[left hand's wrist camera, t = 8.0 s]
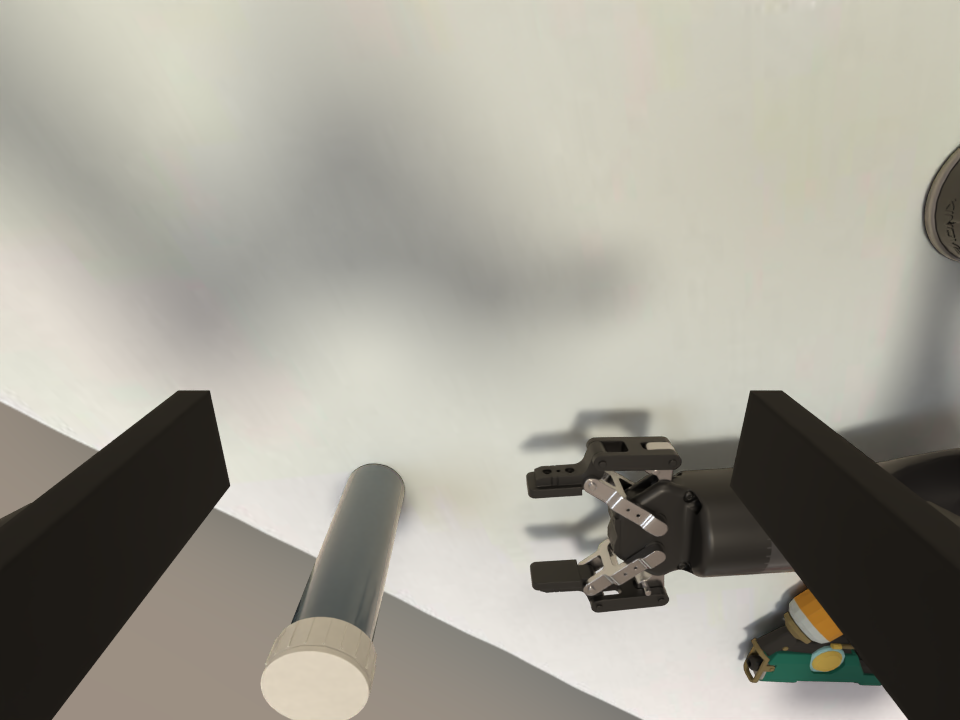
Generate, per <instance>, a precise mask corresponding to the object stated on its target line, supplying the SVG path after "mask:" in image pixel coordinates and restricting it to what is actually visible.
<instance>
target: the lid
mask: <svg viewBox="0 0 960 720" xmlns="http://www.w3.org/2000/svg"><path fill="white" fill-rule="evenodd" d="M376 658H377V654H376V652H375V648H374V646H373V642H371V640H370V638H369V637H368V636H367V635H366V634H365V633H364V632H363V631H362V630H360V629H359V628H357V627H356V626H354V625H352V624H350V623H348V622H346V621H343V620H339V619H335V618H329V617H311V618H306V619H302V620H299V621H296V622H294V623H293V624H291V625H289V626H288V627H287V628H284V629H283V631H282V632H281V633H280V635H279V636H278V638H276V639H275V641H274V644H273V646H272V649H271V651H270V653H269V656H268V658H267V661H266V663H265V665H266V667H265V670H264V672H263V674H262V678H261V690H262V693H263V696H264V698H265V699H266V701H267V702H268V703H269V705H270V706H271V707H272V708H274V709H275V710H276V711H277V712H279V713H280V714H282V715H284V716H286V717H288V718H290V719H292V720H348V719H350V718H352V717H353V716H355V715H356V714H358V713H359V712H360V711H361V710H362V709H363V707H364V706H365V704H366V703H367V700H368V697H369V692H371V689H372V684H373V679H374V674H375V669H376V665H375V663H376Z"/></svg>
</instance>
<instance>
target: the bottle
mask: <svg viewBox="0 0 960 720" xmlns="http://www.w3.org/2000/svg"><path fill="white" fill-rule="evenodd" d="M404 492H405V487H404V483H403V481H402V479H401V477H400V476H399V475H398V474H397V473H396V472H395V471H394V470H392V469H391V468H389V467H387V466H384V465H379V464H368V465H364V466H361V467H359V468H358V469H356V470H355V471H354V472H353V473H352V474H351V475H350V477H349V479H348V481H347V484H346V486H345V489H344V491H343V494H342V496H341V499H340V501H339V504H338V506H337V509H336V511H335V514H334V517H333V519H332V522H331V524H330V527H329V529H328V532H327V534H326V537H325V539H324V542H323V544H322V547H321V549H320V552H319V554H318V557H317V559H316V562H315V565H314V567H313V570H312V572H311V575H310V577H309V580H308V582H307V585H306V587H305V590H304V592H303V595H302V597H301V600H300V602H299V605H298V607H297V610H296V612H295V615H294V618H293V620H292V623H291V624H293V623H294V622H296V621H299V620H302V619H306V618H311V617H329V618H335V619H339V620H343V621H346V622H348V623H350V624H352V625H354V626H356V627H357V628H359V629H360V630H362V631H363V632H364V633H365V634H366V635H367V636H368V637H369V638H370V640H371V642H373V638H374V633H375V628H376V624H377V619H378V614H379V610H380V605H381V600H382V595H383V591H384V586H385V581H386V577H387V572H388V567H389V563H390V558H391V553H392V549H393V544H394V539H395V535H396V530H397V525H398V521H399V516H400V511H401V507H402V502H403V497H404Z"/></svg>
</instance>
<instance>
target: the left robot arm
mask: <svg viewBox="0 0 960 720" xmlns="http://www.w3.org/2000/svg"><path fill="white" fill-rule="evenodd" d="M229 487H230V482H229V478H228V473H227V468H226V464H225V459H224V454H223V450H222V445H221V441H220V436H219V431H218V427H217V422H216V417H215V413H214V408H213V403H212V399H211V394H210V391H177V392H176V393H174V394H173V395H172V396H170V397H169V398H168V399H167V400H165V401H164V402H163V403H161V404H160V405H159V406H157V407H156V408H155V409H154V410H152V411H151V412H150V413H148V414H147V415H146V416H144V417H143V418H142V419H141V420H139V421H138V422H137V423H135V424H134V425H133V426H131V427H130V428H129V429H128V430H126V431H125V432H124V433H122V434H121V435H120V436H118V437H117V438H116V439H115V440H113V441H112V442H111V443H109V444H108V445H107V446H105V447H104V448H103V449H102V450H100V451H99V452H98V453H96V454H95V455H94V456H92V457H91V458H90V459H89V460H87V461H86V462H85V463H83V464H82V465H81V466H79V467H78V468H77V469H76V470H74V471H73V472H72V473H70V474H69V475H68V476H66V477H65V478H64V479H62V480H61V481H60V482H59V483H57V484H56V485H55V486H53V487H52V488H51V489H49V490H48V491H47V492H46V493H44V494H43V495H42V496H40V497H39V498H38V499H37V500H35V501H34V502H33V503H30V504H28V505H26V506H24V507H22V508H20V509H18V510H16V511H14V512H13V513H11V514H9V515H7V516H5V517H3V518H1V519H0V720H52V719H53V717H54V716H55V715H56V713H57V712H58V711H59V710H60V708H61V707H62V706H63V704H64V703H65V702H66V700H67V699H68V698H69V696H70V695H71V694H72V692H73V691H74V690H75V689H76V687H77V686H78V685H79V683H80V682H81V681H82V679H83V678H84V677H85V675H86V674H87V673H88V671H89V670H90V669H91V668H92V666H93V665H94V664H95V662H96V661H97V660H98V658H99V657H100V656H101V654H102V653H103V652H104V651H105V649H106V648H107V647H108V645H109V644H110V643H111V641H112V640H113V639H114V637H115V636H116V635H117V633H118V632H119V631H120V630H121V628H122V627H123V626H124V624H125V623H126V622H127V620H128V619H129V618H130V616H131V615H132V614H133V612H134V611H135V610H136V609H137V607H138V606H139V605H140V603H141V602H142V601H143V599H144V598H145V597H146V596H147V594H148V593H149V592H150V590H151V589H152V588H153V586H154V585H155V584H156V582H157V581H158V580H159V578H160V577H161V576H162V574H163V573H164V572H165V571H166V569H167V568H168V567H169V565H170V564H171V563H172V561H173V560H174V559H175V558H176V556H177V555H178V554H179V552H180V551H181V550H182V548H183V547H184V546H185V544H186V543H187V542H188V540H189V539H190V538H191V537H192V535H193V534H194V533H195V531H196V530H197V529H198V527H199V526H200V525H201V523H202V522H203V521H204V520H205V518H206V517H207V516H208V514H209V513H210V512H211V510H212V509H213V508H214V506H215V505H216V504H217V502H218V501H219V500H220V499H221V497H222V496H223V495H224V493H225V492H226V491H227V489H228V488H229ZM730 487H731V488H732V489H733V491H734V492H735V493H736V495H737V496H738V497H739V499H740V500H741V501H742V502H743V504H744V505H745V506H746V508H747V509H748V510H749V512H750V513H751V514H752V516H753V517H754V518H755V520H756V521H757V522H758V523H759V525H760V526H761V527H762V529H763V530H764V531H765V533H766V534H767V535H768V537H769V538H770V539H771V540H772V542H773V543H774V544H775V546H776V547H777V548H778V550H779V551H780V552H781V554H782V555H783V556H784V558H785V559H786V560H787V561H788V563H789V564H790V565H791V567H792V568H793V569H794V571H795V572H796V573H797V575H798V576H799V577H800V578H801V580H802V581H803V582H804V584H805V585H806V586H807V588H808V589H809V590H810V592H811V593H812V594H813V596H814V597H815V598H816V599H817V601H818V602H819V603H820V605H821V606H822V607H823V609H824V610H825V611H826V613H827V614H828V615H829V616H830V618H831V619H832V620H833V622H834V623H835V624H836V626H837V627H838V628H839V630H840V631H841V632H842V634H843V635H844V636H845V637H846V639H847V640H848V641H849V643H850V644H851V645H852V647H853V648H854V649H855V651H856V652H857V653H858V654H859V656H860V657H861V658H862V660H863V661H864V662H865V664H866V665H867V666H868V668H869V669H870V670H871V672H872V673H873V674H874V675H875V677H876V678H877V679H878V681H879V682H880V683H881V685H882V686H883V687H884V689H885V690H886V691H887V692H888V694H889V695H890V696H891V698H892V699H893V700H894V702H895V703H896V704H897V706H898V707H899V708H900V709H901V711H902V712H903V713H904V715H905V716H906V717H907V719H908V720H960V516H958V515H956V514H954V513H952V512H950V511H948V510H946V509H944V508H942V507H940V506H938V505H936V504H934V503H932V502H930V501H925V500H924V499H922V498H921V497H920V496H918V495H917V494H916V493H914V492H913V491H912V490H911V489H909V488H908V487H907V486H905V485H904V484H903V483H901V482H900V481H899V480H898V479H896V478H895V477H894V476H892V475H891V474H890V473H888V472H887V471H886V470H885V469H883V468H882V467H881V466H879V465H878V464H877V463H875V462H874V461H873V460H871V459H870V458H869V457H868V456H866V455H865V454H864V453H862V452H861V451H860V450H858V449H857V448H856V447H855V446H853V445H852V444H851V443H849V442H848V441H847V440H845V439H844V438H843V437H842V436H840V435H839V434H838V433H836V432H835V431H834V430H832V429H831V428H830V427H829V426H827V425H826V424H825V423H823V422H822V421H821V420H819V419H818V418H817V417H816V416H814V415H813V414H812V413H810V412H809V411H808V410H806V409H805V408H804V407H803V406H801V405H800V404H799V403H797V402H796V401H795V400H793V399H792V398H791V397H790V396H788V395H787V394H786V393H784V392H783V391H750V394H749V399H748V403H747V408H746V413H745V417H744V422H743V427H742V431H741V436H740V441H739V445H738V450H737V454H736V459H735V464H734V468H733V473H732V478H731V482H730Z"/></svg>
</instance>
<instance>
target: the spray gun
mask: <svg viewBox="0 0 960 720" xmlns="http://www.w3.org/2000/svg"><path fill="white" fill-rule="evenodd" d="M784 618H785V625H786V626H782V627H779V628H777V629H775V630H774V631H772V632H770V633H768V634H766V635H764V636H762V637H760V638H758V639H756V638H754V639H753V640H751V642H752V644H753V647H752V649H751V651H750V653H749V655H748V657H747V659H746V660H745V662H744V671H745V674H746V675H747V677H748V679H749V680H750V682H752V683H757V682H758V680H759V681H771V682H791V683H794V682H797V681H823V682H854V683H858V684H859V685H876V686H880V685H881V683H880V682H879V681H878V679H877V678H876V677H875V675H874V674H873V673H872V672H871V670H870V669H869V668H868V666H867V665H866V664H865V662H864V661H863V660H862V658H861V657H860V656H859V654H858V653H857V652H855V651H854V650H853V649H854V648H853V647H852V645H851V644H849V641H848V640H847V639H846V637H845V636H844V635H843V634H842V632H841V631H840V630H839V628H838V627H837V626H836V624H835V623H834V622H833V620H832V619H831V618H830V616H829V615H828V614H827V613H826V611H825V610H824V609H823V607H822V606H821V605H820V603H819V602H818V601H817V599H816V598H815V597H814V596H813V594H812V593H811V592H810V590H809V589H807V590H805V591H804V592H802V593H801V594H799V595H797V596H796V597H794V598H793V600H792V601H791V602H790V603H789V612H786V613H785V614H784ZM749 668H750V669H751V670H753V671H754V674H755V677H754V678H753V677H752V675H751V673H750V671H749Z"/></svg>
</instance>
